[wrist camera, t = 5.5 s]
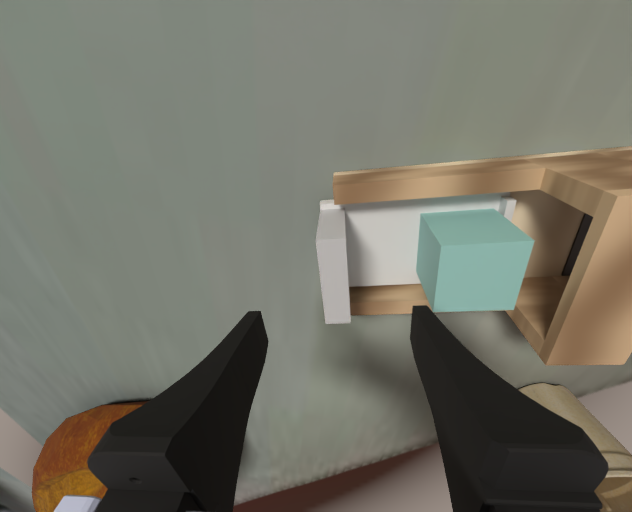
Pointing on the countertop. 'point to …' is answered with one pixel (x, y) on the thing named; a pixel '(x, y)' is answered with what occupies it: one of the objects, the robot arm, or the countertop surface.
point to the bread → (73, 456)
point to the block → (471, 260)
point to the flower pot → (624, 469)
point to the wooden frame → (549, 244)
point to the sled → (380, 243)
